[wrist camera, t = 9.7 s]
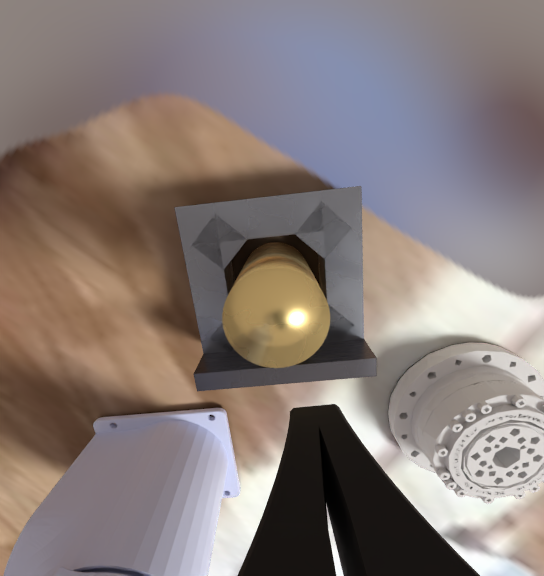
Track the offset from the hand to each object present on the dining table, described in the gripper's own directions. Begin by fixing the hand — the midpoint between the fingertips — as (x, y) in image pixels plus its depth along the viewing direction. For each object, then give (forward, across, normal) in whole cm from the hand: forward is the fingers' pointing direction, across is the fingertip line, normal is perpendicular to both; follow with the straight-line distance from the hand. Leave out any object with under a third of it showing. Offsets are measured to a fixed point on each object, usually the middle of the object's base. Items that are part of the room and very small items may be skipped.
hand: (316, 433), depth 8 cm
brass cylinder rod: (+10, +1, -2) cm, 10 cm away
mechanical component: (+10, -11, +8) cm, 17 cm away
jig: (+10, +1, -2) cm, 10 cm away
